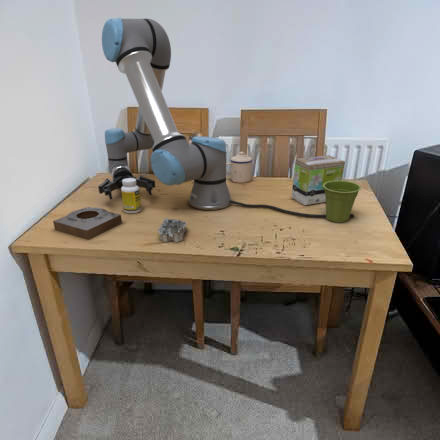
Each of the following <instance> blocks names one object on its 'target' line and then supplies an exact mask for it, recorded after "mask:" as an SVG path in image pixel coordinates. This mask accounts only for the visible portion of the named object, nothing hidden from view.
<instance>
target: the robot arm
mask: <svg viewBox="0 0 440 440" xmlns="http://www.w3.org/2000/svg"><path fill="white" fill-rule="evenodd" d="M170 41H171V40H170V38H169V35H168V33H167V31H166V30H165V29H164V27H163V26H162V25H161V24H160V22H158V21H157V20H154V19H153V18H152V19H151V18H121V17H117V18H116V17H115V18H109V19H107V20H106V21H105V22H104V24H103V27H102V31H101V47H102V51H103V55H104V58H105V59H106V60H107V61H109V62H110V63H115V64H116V66H117V69H118V71H119V72H120V73H122V74H124V75H125V76H126V78H127V81H128V83H129V85H130V88H131V90H132V94H133V95H134V98H135V100H136V102H137V105H138V107H137V114H136V122H135V128H134V130H133V131H127V132H125V130H124V129H123V128H119V127H115V128H114V127H113V128H112V127H111V128H108V129H105V131H104V142H105V147H106V153H107V163H108V172H109V174H110V176H111V178H112V180H111V179H109V178H105V180H104V181H103V182H102V183H100V184H99V185H98V186H97V188H98V194H100V195H101V194H103V193H104V196H105V197H107V196H108V197H109V200H113V195H112V192H113V191H115V190H119V189H121V188H122V186H123V184H122V180H123V179H126V178H134V179H136V185H137V186H138V187H139V188H143V189H145V190H146V192H147V193H148V195H149V196H152V195H153V194H152V191H153V190H154V189H155V188H156V180H155V179H151V178H148V177H145V176H144V175H138V177H136V176H133V175H134V174H133V173H132V171H131V170H130V168H129V162H128V154H129V153H132V152H133V153H134V152H139V151H144V150H150V149H151V150H152V153H151V156H150V163H151V164H150V166H151V170H152V172H153V174H154V176H155V177H156V179H157V180H158V181H159V182H160V183H162V184H164V185H165V186H168V187H169V186H171V187H172V186H176V185H177V186H178V185H179V186H180V185H182V184H184V183H188V182H191V181H193V185H192V188H191V192H190V194H189V195H190V196H189V205H190V206H191V207H192V208H194V209H197V210H201V211H218V210H223V209H226V208H228V207H230V206H231V204H233V205H237V206H241V207H245V208H267V209H272V210H275V211H278V212H281V213H285V214H288V215H294V216H299V217H306V218H326V214H315V213H303V212H297V211H293V210H287V209H284V208H280V207H278V206H275V205H270V204H261V203H260V204H251V203H250V204H247V203H244V202H239V201H236V200H232V196H231V194H230V189H229V186H228V184H227V174H226V171H227V165H226V163H227V154H228V151H227V144H226V141H225V140H224V139H222V138H219V137H214V136H213V137H212V136H193V137H192V138H191V143H188V140H187V138H186V136H185V135H184V134H182V133H179V131H178V128H177V126H176V123H175V121H174V118H173V116H172V113H171V111H170V110H169V106H168V103H167V101H166V99H165V96H164V94H163V87H164V83H165V82H164V81H165V77H166V72H167V71H168V70H169V69H170V65H171V61H172V48H171V42H170ZM354 217H355V213H350V216H349V218H354ZM326 219H327V218H326Z"/></svg>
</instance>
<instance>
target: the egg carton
mask: <svg viewBox="0 0 440 440" xmlns="http://www.w3.org/2000/svg"><path fill="white" fill-rule="evenodd" d="M186 226H187V221H186V220H183V221H182V220H181V219H173V218H171V219H170V218H168V217H165V218H164V219H163V222H162V223H161V224H160V226H159V228H158V229H157V231H158V234H159V239H160V241H162V242H164V243H167V242H169V241H174V243H178V242H181V241H183V239H184V236H185V233H186V231H187V229H186Z"/></svg>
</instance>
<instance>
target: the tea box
mask: <svg viewBox="0 0 440 440" xmlns="http://www.w3.org/2000/svg"><path fill="white" fill-rule="evenodd" d="M345 165H346V161H345V160H342V159H340V158H338V157H335V156H332V155H330V154H328V155H318V156H311V157H302V158H296V159H295V163H294V170H293V171H294V172H293V179H292V186H291V187H292V189H291V198H292V199H293V200H295V201H297V202H298V203H300V204H302V205H304V206H309V205H315V204H321V203H326V196H325V188H324V187H323V184H324V183H326V182H329V181H337V180H338V181H343V178H344V171H345Z"/></svg>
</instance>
